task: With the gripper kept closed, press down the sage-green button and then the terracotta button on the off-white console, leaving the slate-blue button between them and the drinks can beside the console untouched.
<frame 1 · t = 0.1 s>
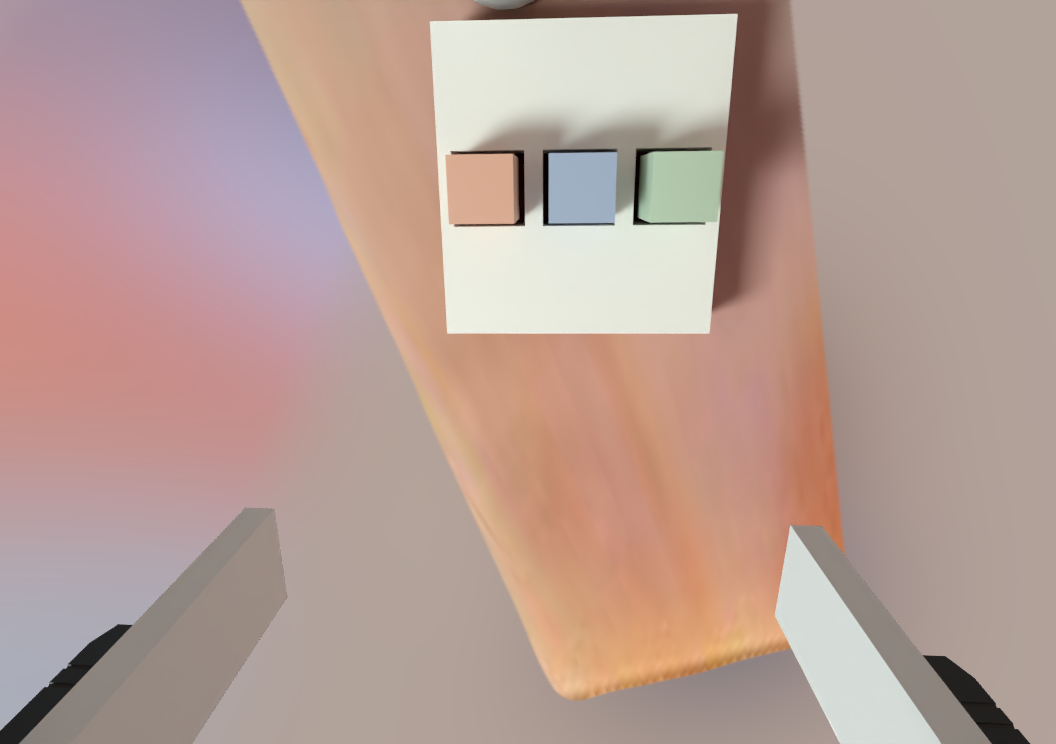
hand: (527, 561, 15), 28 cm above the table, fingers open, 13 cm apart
slate button: (580, 188, 33), point 5 cm above the table, slide at 0.0 cm
terracotta button: (485, 189, 33), point 5 cm above the table, slide at 0.0 cm
console: (576, 187, 38), on the table
sage button: (676, 187, 33), point 6 cm above the table, slide at 0.0 cm
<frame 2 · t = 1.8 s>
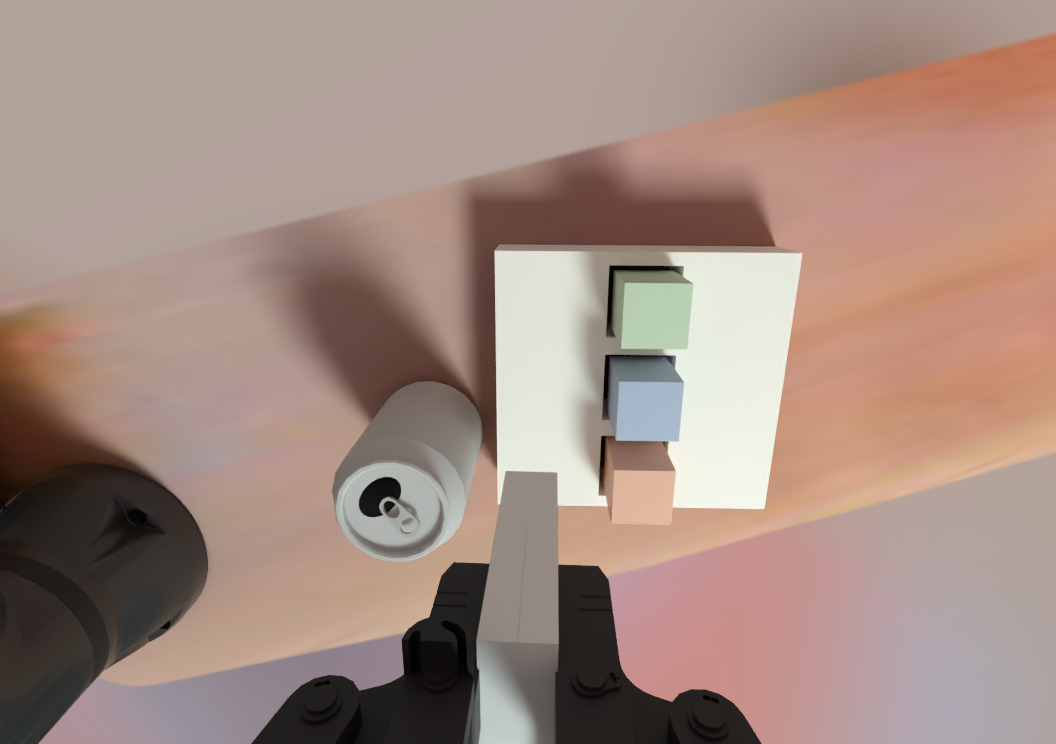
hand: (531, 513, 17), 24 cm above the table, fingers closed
slate button: (642, 396, 35), point 5 cm above the table, slide at 0.0 cm
terracotta button: (636, 477, 37), point 5 cm above the table, slide at 0.0 cm
console: (629, 369, 40), on the table
sage button: (648, 307, 33), point 6 cm above the table, slide at 0.0 cm
can: (433, 424, 42), on the table
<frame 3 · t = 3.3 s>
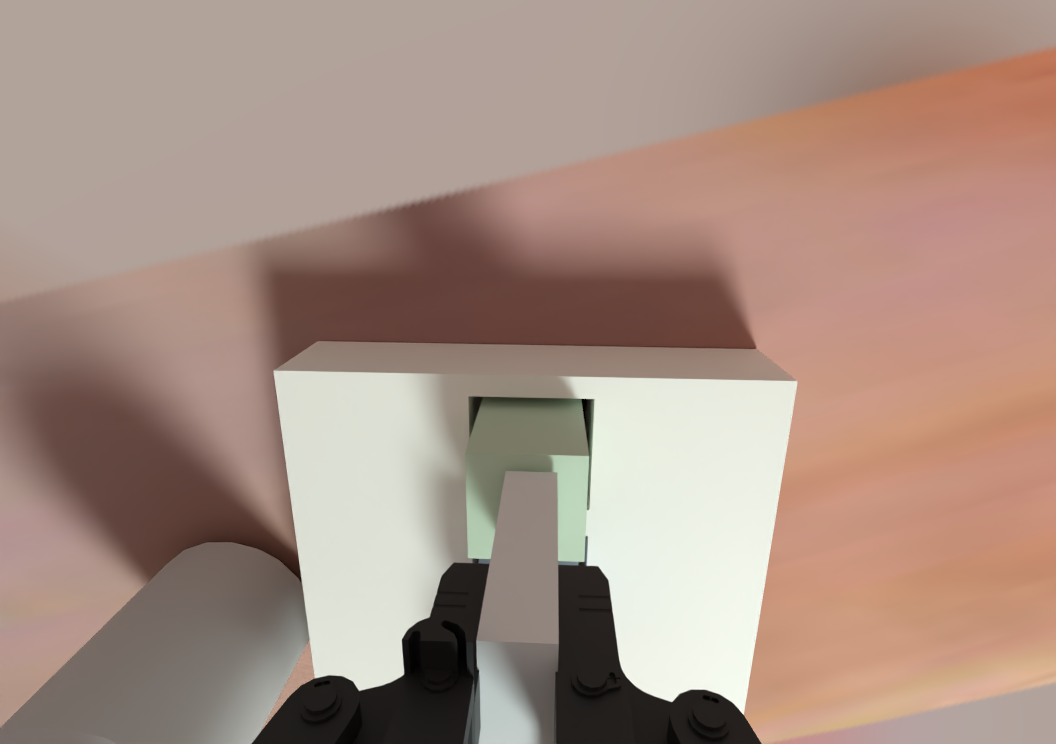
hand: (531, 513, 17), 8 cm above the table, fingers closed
slate button: (527, 610, 21), point 6 cm above the table, slide at 0.0 cm
console: (532, 525, 26), on the table
sage button: (529, 469, 20), point 5 cm above the table, slide at 0.4 cm, touching gripper
can: (246, 593, 28), on the table
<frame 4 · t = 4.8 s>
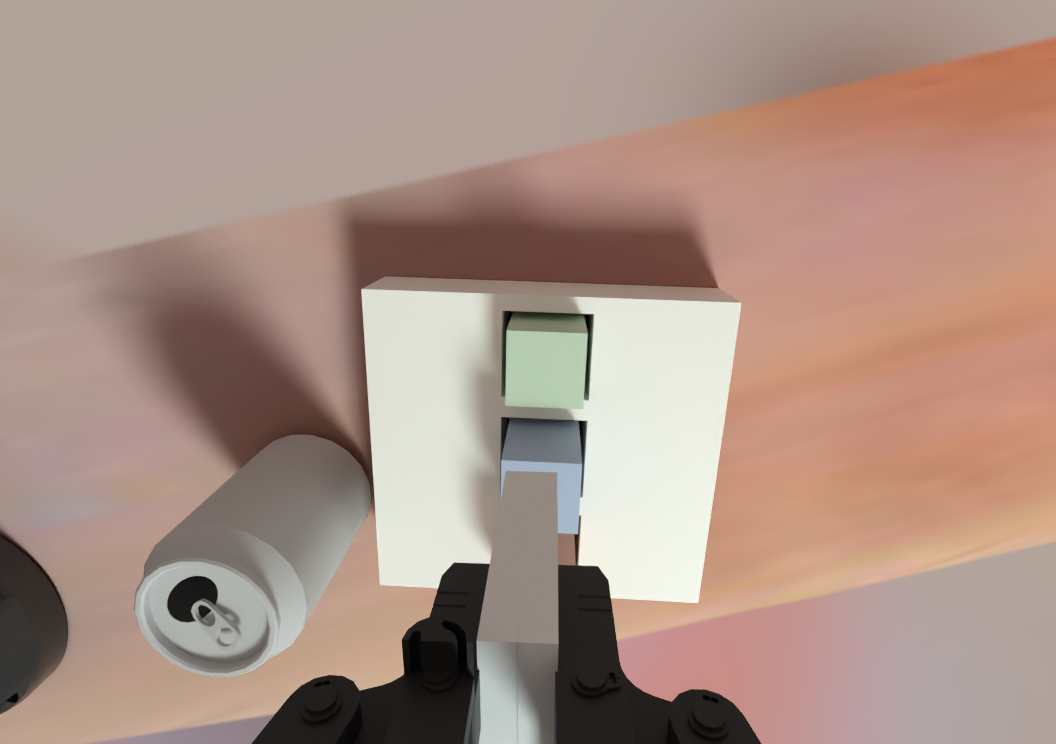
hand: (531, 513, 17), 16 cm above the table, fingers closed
slate button: (541, 471, 28), point 5 cm above the table, slide at 0.0 cm
terracotta button: (538, 565, 30), point 5 cm above the table, slide at 0.0 cm
console: (544, 427, 34), on the table
sage button: (546, 355, 28), point 4 cm above the table, slide at 1.8 cm
can: (317, 481, 36), on the table
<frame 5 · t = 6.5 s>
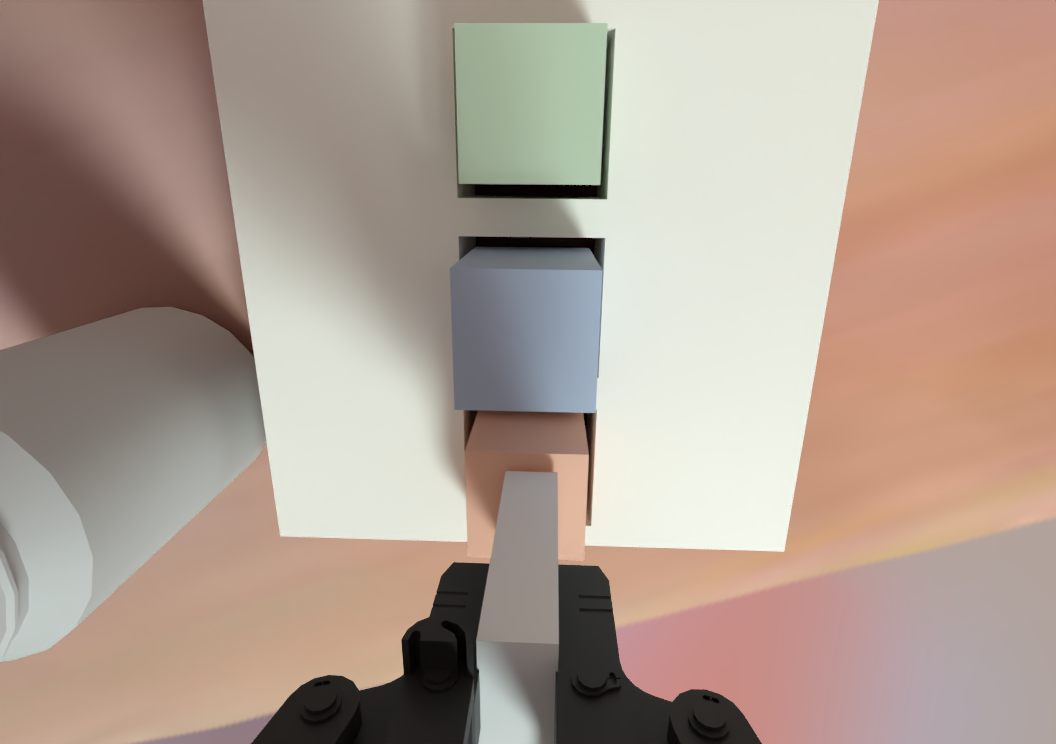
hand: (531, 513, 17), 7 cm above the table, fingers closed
slate button: (529, 320, 16), point 5 cm above the table, slide at 0.0 cm
terracotta button: (529, 468, 20), point 4 cm above the table, slide at 1.5 cm, touching gripper
console: (534, 287, 22), on the table
sage button: (532, 118, 16), point 4 cm above the table, slide at 1.8 cm
can: (195, 389, 24), on the table
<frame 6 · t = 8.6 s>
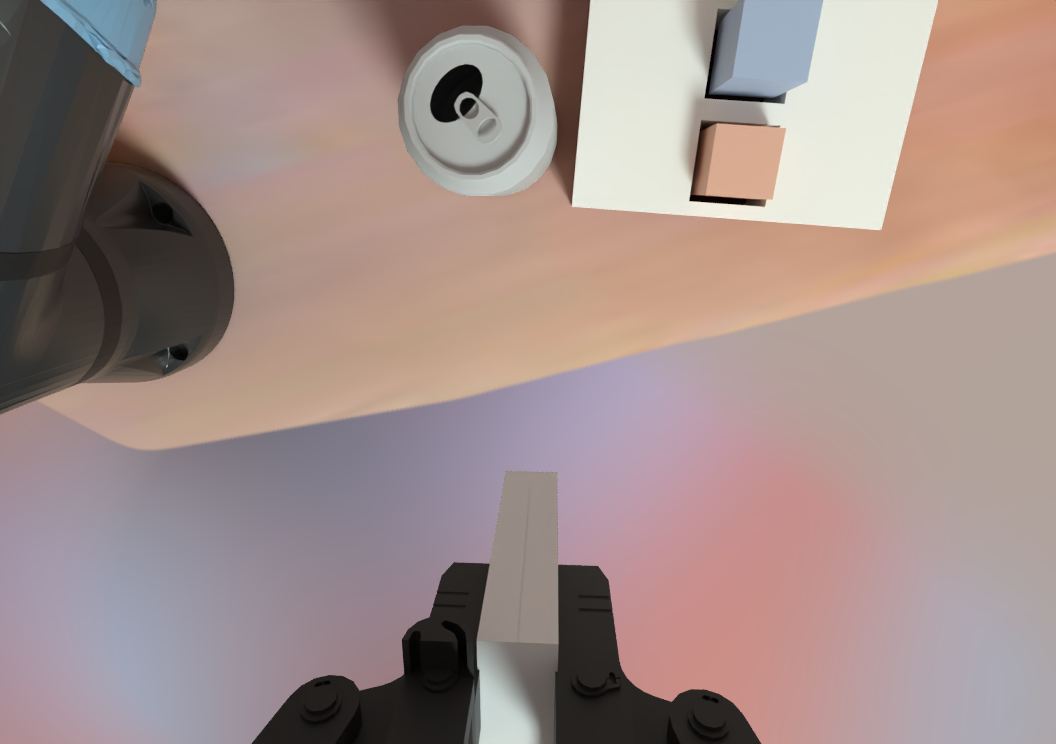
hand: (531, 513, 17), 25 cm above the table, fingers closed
slate button: (760, 50, 30), point 5 cm above the table, slide at 0.0 cm
terracotta button: (732, 164, 33), point 4 cm above the table, slide at 1.8 cm
console: (731, 71, 35), on the table
can: (500, 135, 37), on the table
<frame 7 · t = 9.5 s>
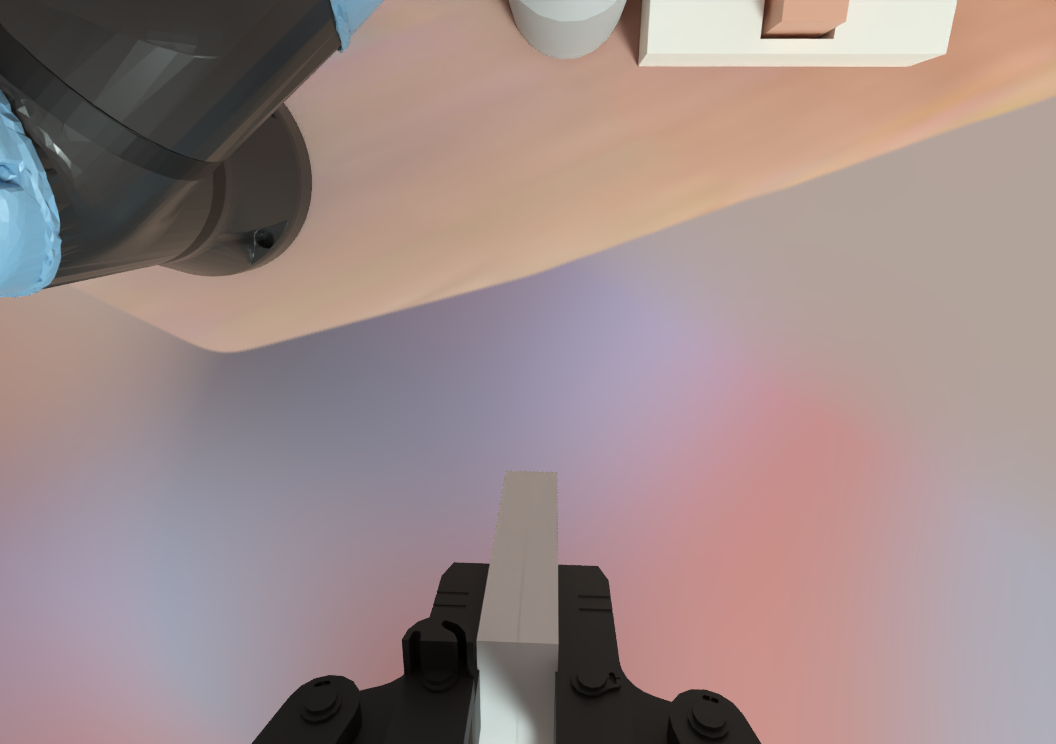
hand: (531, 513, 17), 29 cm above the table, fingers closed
can: (566, 0, 39), on the table
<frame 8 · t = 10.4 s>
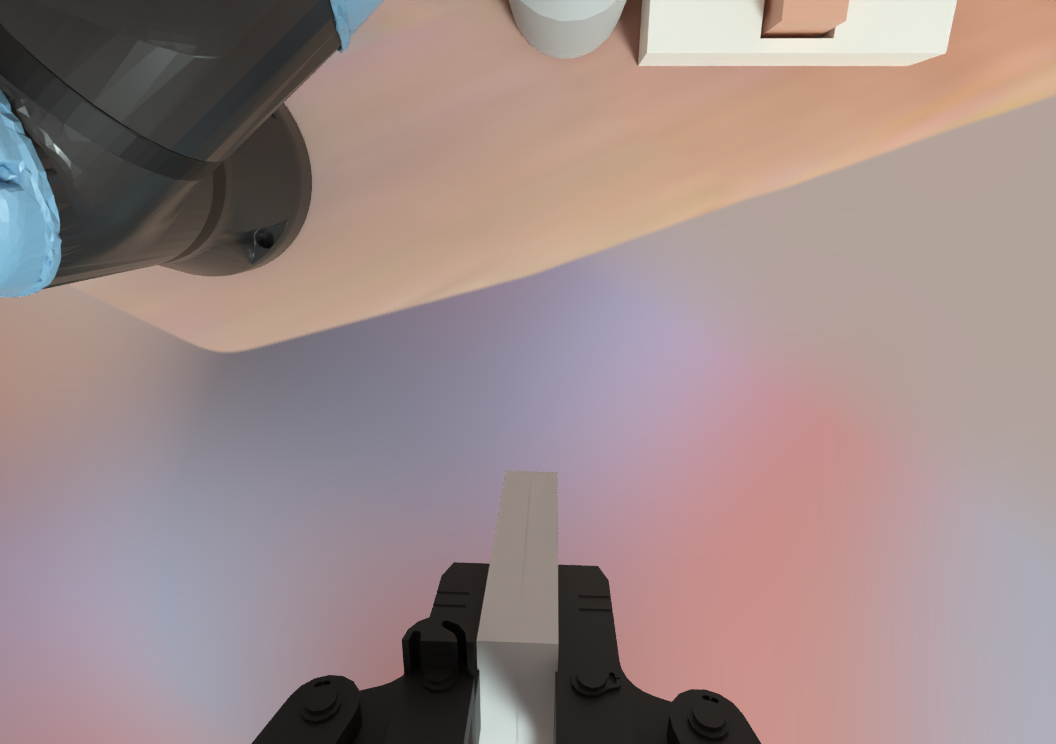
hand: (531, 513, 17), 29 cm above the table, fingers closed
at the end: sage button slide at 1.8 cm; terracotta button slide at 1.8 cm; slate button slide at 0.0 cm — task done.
